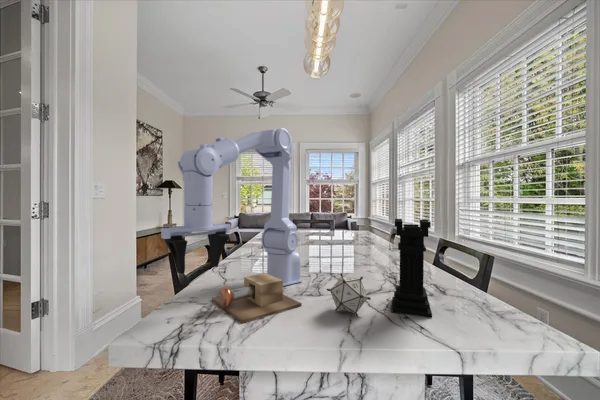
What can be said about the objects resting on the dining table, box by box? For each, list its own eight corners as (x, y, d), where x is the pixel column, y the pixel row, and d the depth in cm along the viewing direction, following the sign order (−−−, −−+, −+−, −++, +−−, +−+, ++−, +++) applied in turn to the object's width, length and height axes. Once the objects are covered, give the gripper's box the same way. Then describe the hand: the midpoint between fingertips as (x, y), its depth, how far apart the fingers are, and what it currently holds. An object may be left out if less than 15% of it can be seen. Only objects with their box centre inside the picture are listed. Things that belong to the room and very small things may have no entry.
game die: (348, 333, 60) (336, 305, 54) (328, 306, 67) (315, 278, 61) (381, 309, 62) (373, 279, 56) (358, 285, 69) (348, 257, 63)
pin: (258, 294, 69) (258, 277, 69) (267, 299, 66) (267, 282, 66) (219, 304, 63) (219, 285, 63) (227, 310, 60) (227, 290, 60)
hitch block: (265, 288, 78) (265, 268, 77) (301, 305, 65) (301, 282, 65) (212, 300, 68) (212, 277, 68) (242, 323, 56) (242, 296, 56)
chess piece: (428, 304, 67) (428, 219, 66) (432, 317, 59) (433, 222, 59) (392, 300, 69) (393, 218, 69) (391, 312, 62) (392, 221, 61)
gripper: (218, 204, 68) (218, 260, 68) (155, 205, 57) (154, 272, 57) (235, 205, 63) (235, 265, 63) (170, 206, 53) (169, 279, 53)
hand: (198, 269), depth 60 cm, fingers open, 7 cm apart
